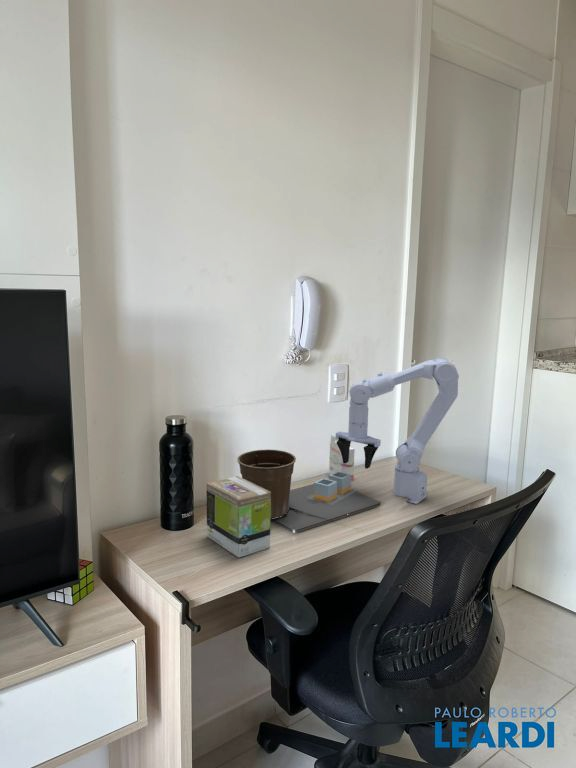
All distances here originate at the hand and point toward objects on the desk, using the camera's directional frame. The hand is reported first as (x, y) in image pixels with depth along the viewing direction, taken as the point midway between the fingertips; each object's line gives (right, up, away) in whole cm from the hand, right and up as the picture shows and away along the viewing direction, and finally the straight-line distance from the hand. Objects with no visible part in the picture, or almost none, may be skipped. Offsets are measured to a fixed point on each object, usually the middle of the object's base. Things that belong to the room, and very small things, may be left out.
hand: (356, 465), depth 177 cm
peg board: (-8, -10, -1) cm, 12 cm away
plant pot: (-27, -12, -13) cm, 32 cm away
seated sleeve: (-5, -8, +2) cm, 10 cm away
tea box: (-34, -15, -31) cm, 48 cm away
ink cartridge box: (-3, -7, +14) cm, 16 cm away
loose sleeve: (-10, -9, -5) cm, 14 cm away
